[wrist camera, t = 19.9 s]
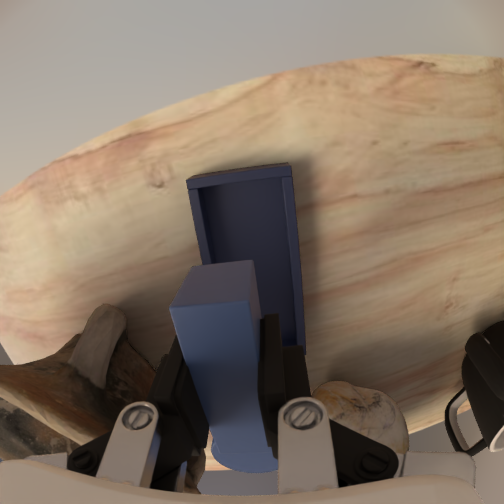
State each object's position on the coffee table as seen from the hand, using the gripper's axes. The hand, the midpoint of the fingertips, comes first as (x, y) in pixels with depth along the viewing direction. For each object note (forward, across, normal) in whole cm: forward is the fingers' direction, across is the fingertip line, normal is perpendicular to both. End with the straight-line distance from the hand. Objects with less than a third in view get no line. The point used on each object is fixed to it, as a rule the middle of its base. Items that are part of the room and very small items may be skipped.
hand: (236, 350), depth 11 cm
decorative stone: (+13, -8, +20) cm, 25 cm away
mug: (+13, -27, +17) cm, 35 cm away
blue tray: (+13, 0, +2) cm, 13 cm away
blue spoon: (0, 0, +3) cm, 3 cm away
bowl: (+13, +18, +14) cm, 26 cm away
